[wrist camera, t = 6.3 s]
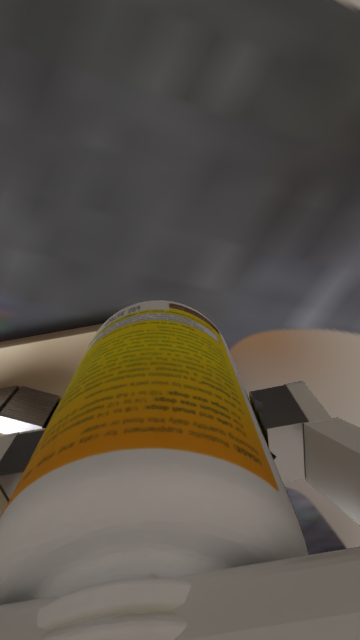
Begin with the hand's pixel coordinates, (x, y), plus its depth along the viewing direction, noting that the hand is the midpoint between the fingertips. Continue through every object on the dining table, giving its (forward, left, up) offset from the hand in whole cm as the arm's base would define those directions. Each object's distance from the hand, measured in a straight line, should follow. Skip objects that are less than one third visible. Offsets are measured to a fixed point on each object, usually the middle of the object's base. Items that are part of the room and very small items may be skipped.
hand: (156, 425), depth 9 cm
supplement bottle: (0, 0, -4) cm, 4 cm away
